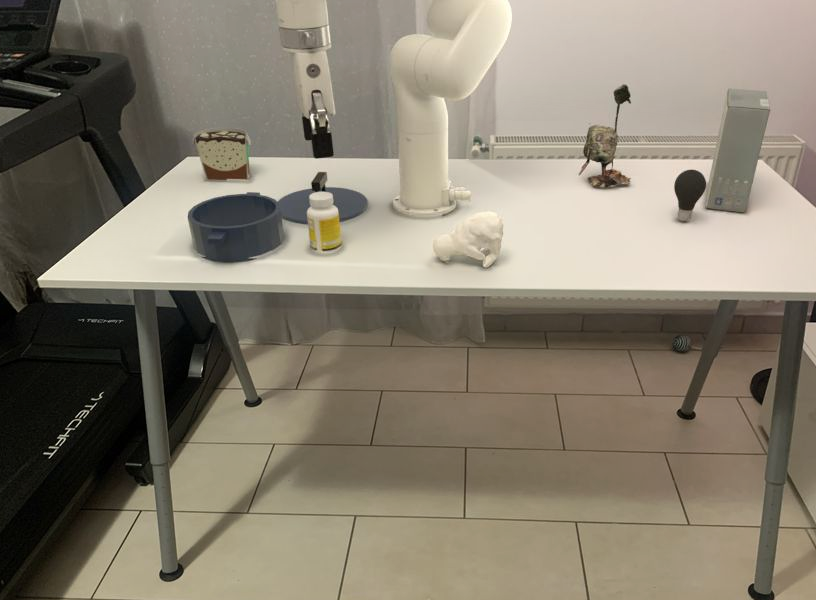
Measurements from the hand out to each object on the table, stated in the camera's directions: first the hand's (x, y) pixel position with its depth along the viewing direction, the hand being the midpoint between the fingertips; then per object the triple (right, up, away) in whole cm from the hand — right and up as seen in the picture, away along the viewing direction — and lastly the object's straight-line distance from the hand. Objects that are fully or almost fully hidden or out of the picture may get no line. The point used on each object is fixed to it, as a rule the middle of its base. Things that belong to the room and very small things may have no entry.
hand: (318, 147), depth 119 cm
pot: (-16, -15, +9) cm, 23 cm away
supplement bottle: (0, -16, +7) cm, 18 cm away
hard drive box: (+78, -3, +27) cm, 83 cm away
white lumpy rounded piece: (+25, -19, +3) cm, 31 cm away
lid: (-3, -5, +22) cm, 23 cm away
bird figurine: (+55, +2, +35) cm, 65 cm away
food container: (-26, +4, +38) cm, 46 cm away
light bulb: (+66, -9, +17) cm, 69 cm away
